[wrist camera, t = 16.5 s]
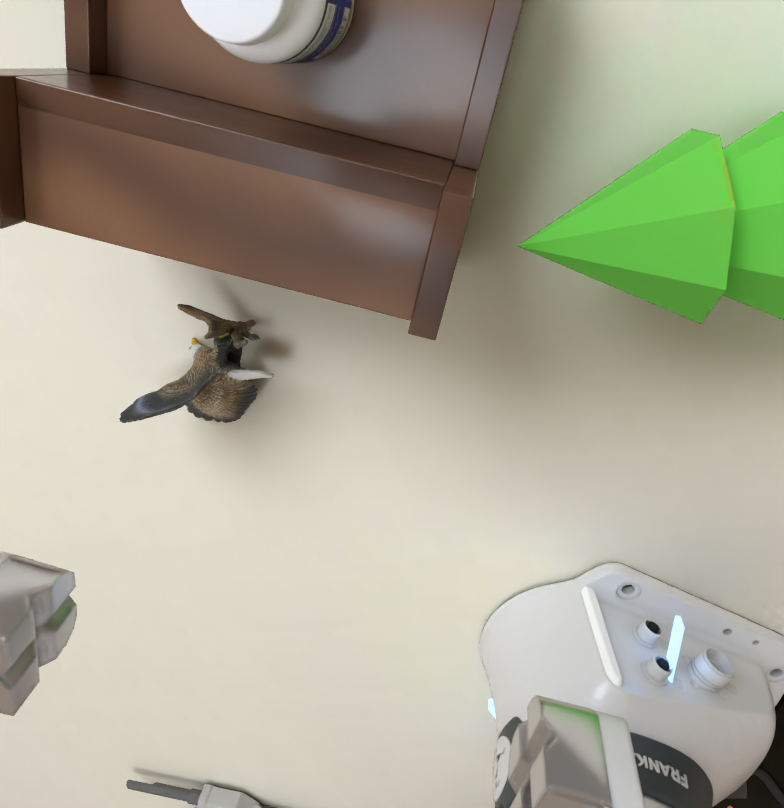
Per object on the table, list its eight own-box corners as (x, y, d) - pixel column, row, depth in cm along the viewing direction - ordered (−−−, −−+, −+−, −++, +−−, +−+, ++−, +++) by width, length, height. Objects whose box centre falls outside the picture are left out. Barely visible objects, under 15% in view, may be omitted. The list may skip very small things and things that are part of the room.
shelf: (114, -170, 30) (-81, -291, 20) (540, -67, 29) (564, -137, 19) (114, 180, 37) (-25, 222, 27) (451, 266, 37) (435, 341, 27)
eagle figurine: (166, 273, 38) (107, 392, 41) (190, 328, 33) (120, 460, 36) (274, 316, 43) (214, 420, 46) (309, 370, 38) (239, 484, 41)
